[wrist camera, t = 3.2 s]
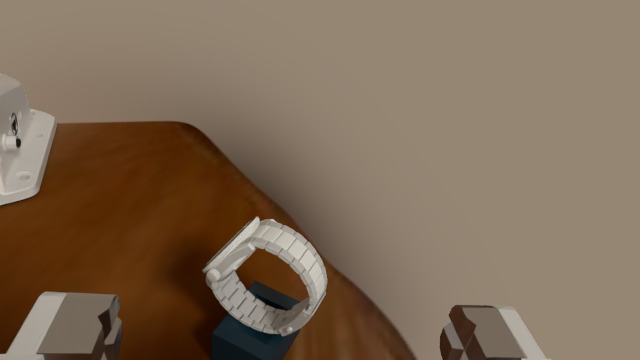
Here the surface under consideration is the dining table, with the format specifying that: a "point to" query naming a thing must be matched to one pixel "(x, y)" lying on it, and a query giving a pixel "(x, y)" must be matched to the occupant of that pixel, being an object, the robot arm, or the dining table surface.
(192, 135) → the dining table surface
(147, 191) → the dining table surface
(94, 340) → the robot arm
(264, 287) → the watch
